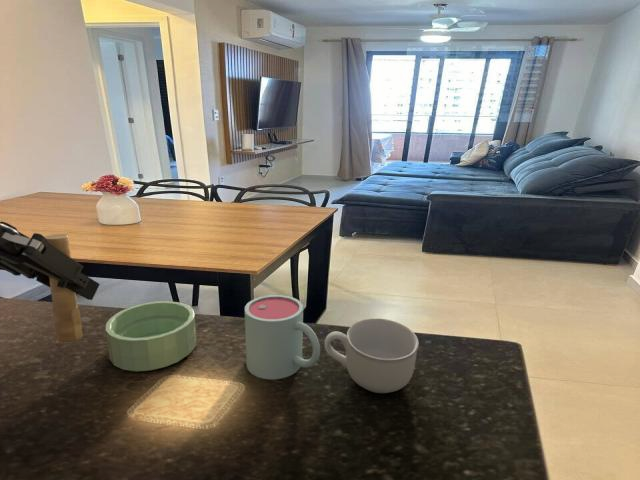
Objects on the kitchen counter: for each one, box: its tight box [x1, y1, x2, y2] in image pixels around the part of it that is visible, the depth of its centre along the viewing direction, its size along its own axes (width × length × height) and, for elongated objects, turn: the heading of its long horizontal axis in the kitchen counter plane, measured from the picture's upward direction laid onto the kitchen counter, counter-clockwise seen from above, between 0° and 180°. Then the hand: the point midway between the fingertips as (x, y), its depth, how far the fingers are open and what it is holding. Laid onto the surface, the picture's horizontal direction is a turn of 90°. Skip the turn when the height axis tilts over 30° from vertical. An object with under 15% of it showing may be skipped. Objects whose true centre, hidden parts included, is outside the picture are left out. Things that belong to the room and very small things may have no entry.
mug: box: [244, 294, 321, 380], centre depth 61 cm, size 14×9×10 cm
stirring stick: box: [43, 233, 84, 343], centre depth 56 cm, size 4×3×16 cm
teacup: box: [324, 317, 420, 394], centre depth 59 cm, size 14×11×8 cm
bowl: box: [105, 300, 197, 372], centre depth 65 cm, size 14×14×6 cm
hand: (83, 290), depth 60 cm, fingers closed on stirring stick, 3 cm apart
